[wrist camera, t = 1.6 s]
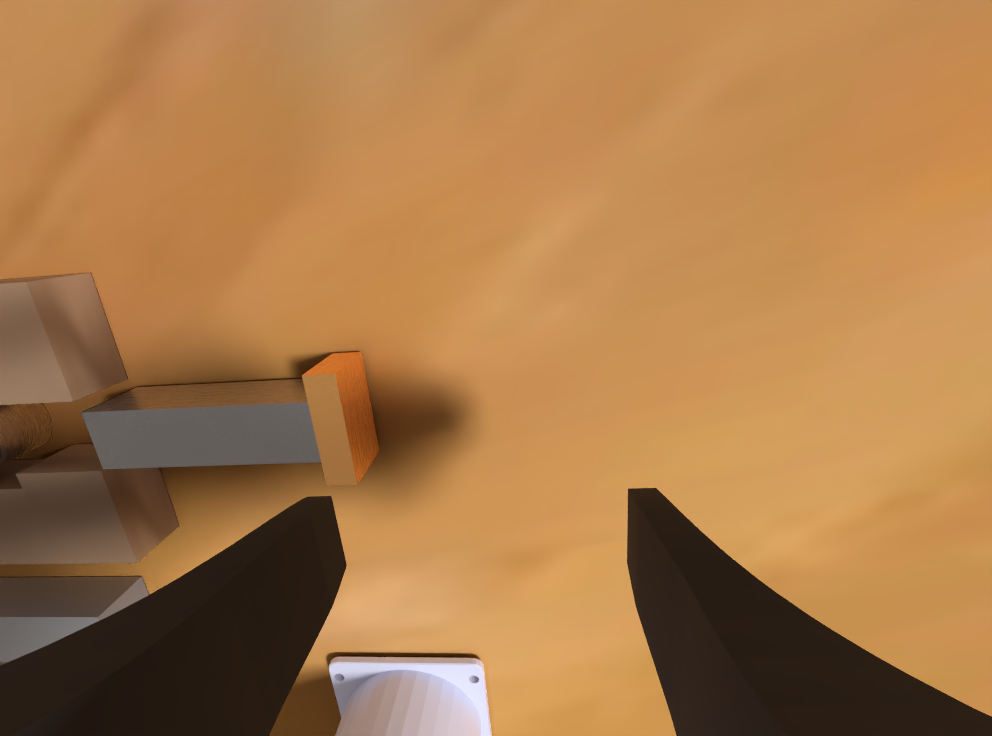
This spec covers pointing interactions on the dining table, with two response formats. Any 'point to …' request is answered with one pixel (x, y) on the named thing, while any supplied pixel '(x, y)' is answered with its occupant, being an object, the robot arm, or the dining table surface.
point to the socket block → (76, 469)
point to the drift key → (245, 423)
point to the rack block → (58, 608)
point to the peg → (22, 429)
